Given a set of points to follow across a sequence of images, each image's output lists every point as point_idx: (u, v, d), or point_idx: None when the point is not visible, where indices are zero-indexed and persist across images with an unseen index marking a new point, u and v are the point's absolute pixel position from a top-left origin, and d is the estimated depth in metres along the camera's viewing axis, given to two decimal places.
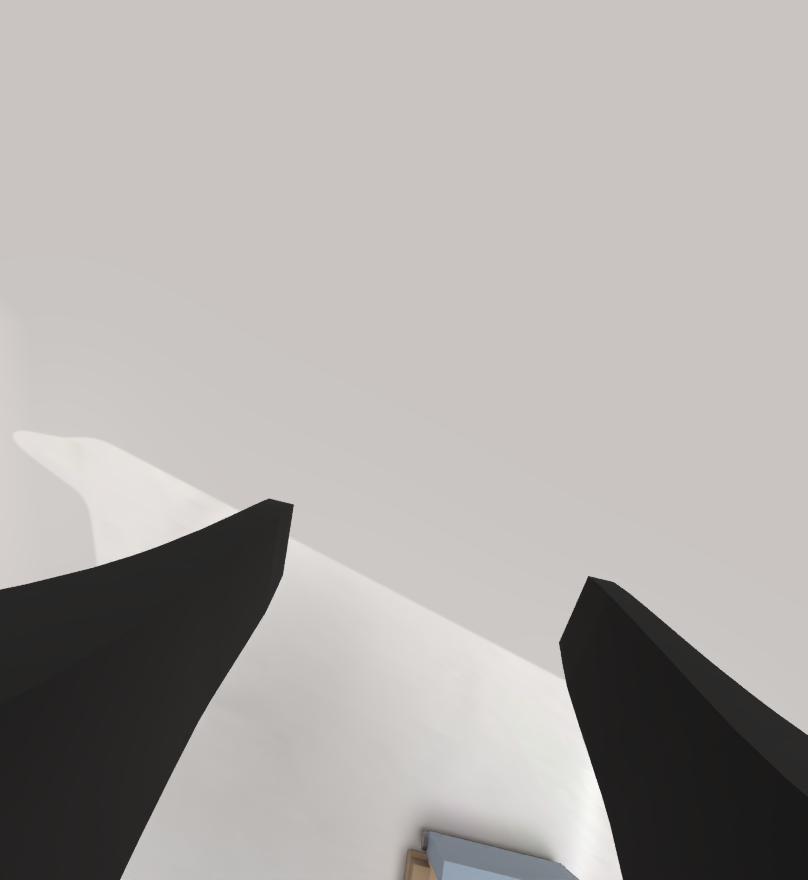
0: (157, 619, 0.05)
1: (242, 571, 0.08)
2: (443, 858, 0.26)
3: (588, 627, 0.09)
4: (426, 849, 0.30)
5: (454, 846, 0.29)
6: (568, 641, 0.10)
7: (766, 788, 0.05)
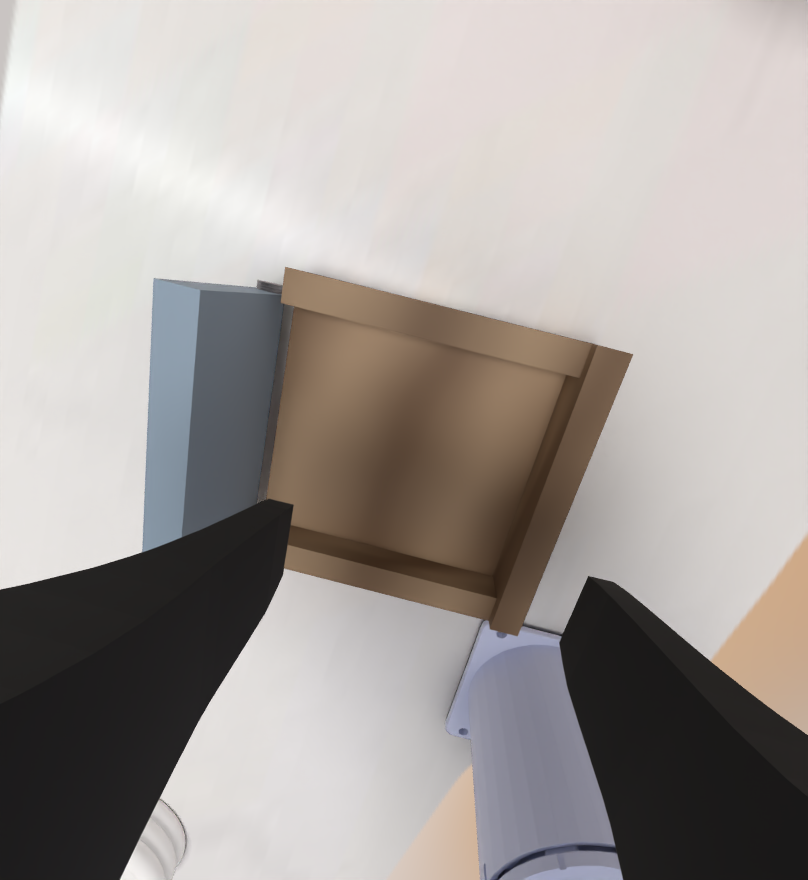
0: (157, 619, 0.05)
1: (242, 571, 0.08)
2: None
3: (588, 627, 0.09)
4: None
5: None
6: (568, 641, 0.10)
7: (764, 787, 0.05)
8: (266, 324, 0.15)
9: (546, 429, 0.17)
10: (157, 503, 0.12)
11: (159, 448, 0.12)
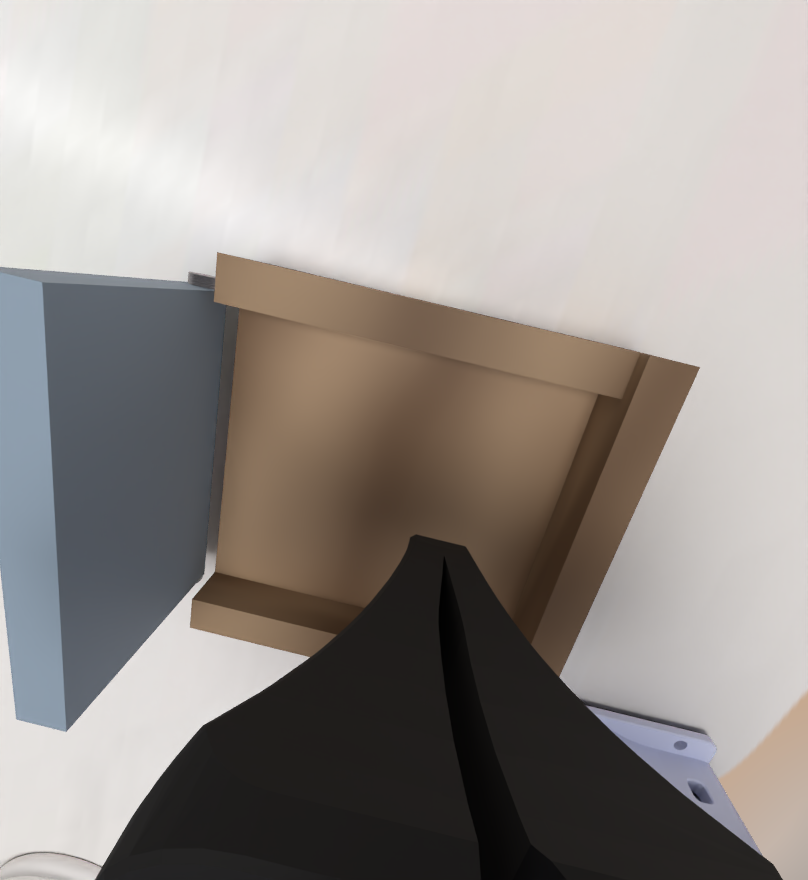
0: None
1: None
2: None
3: None
4: None
5: None
6: None
7: (471, 715, 0.05)
8: (196, 331, 0.11)
9: (572, 462, 0.13)
10: (21, 595, 0.09)
11: (13, 520, 0.08)
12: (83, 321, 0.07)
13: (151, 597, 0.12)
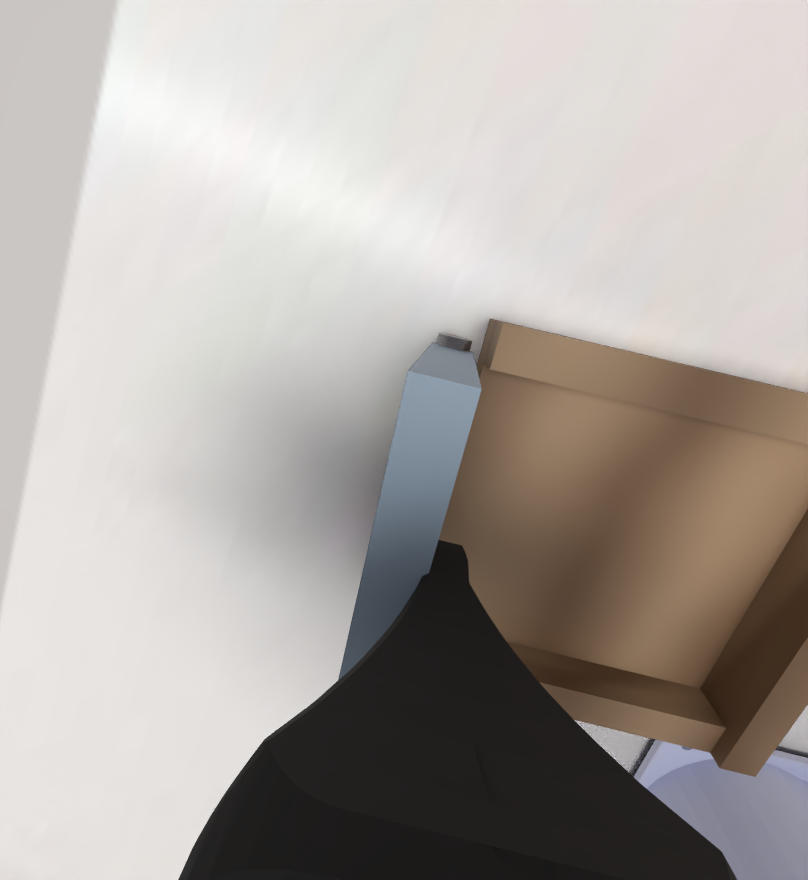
0: None
1: None
2: None
3: None
4: None
5: None
6: None
7: None
8: None
9: (803, 517, 0.13)
10: None
11: (375, 604, 0.08)
12: None
13: None
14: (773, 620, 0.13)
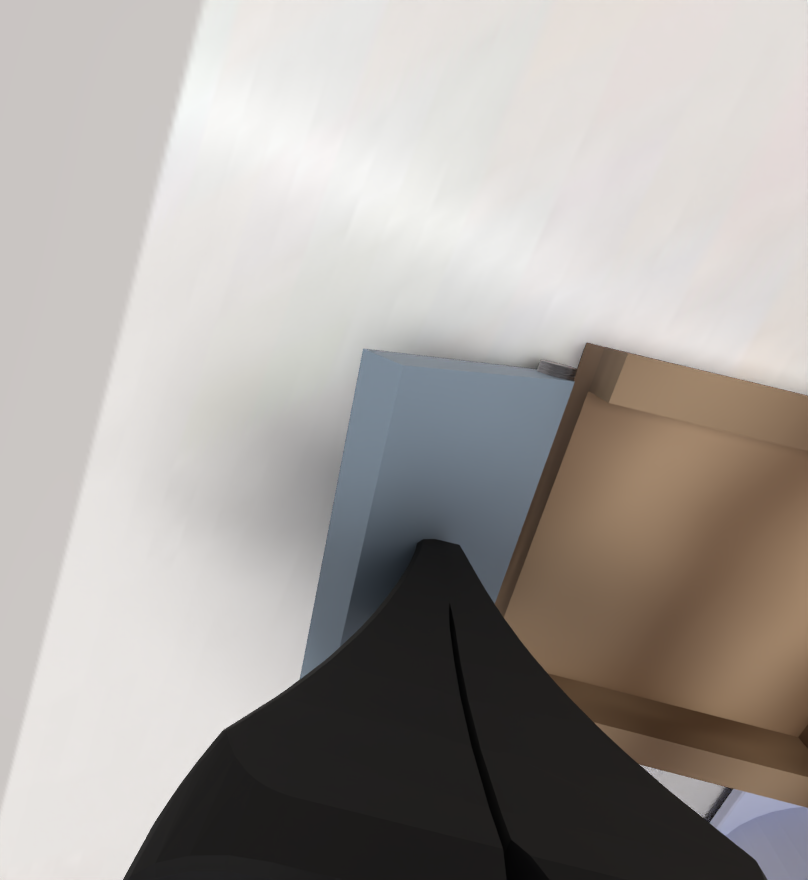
0: None
1: None
2: None
3: None
4: None
5: None
6: None
7: None
8: (530, 419, 0.10)
9: None
10: (320, 626, 0.10)
11: (332, 561, 0.09)
12: (427, 402, 0.08)
13: None
14: None
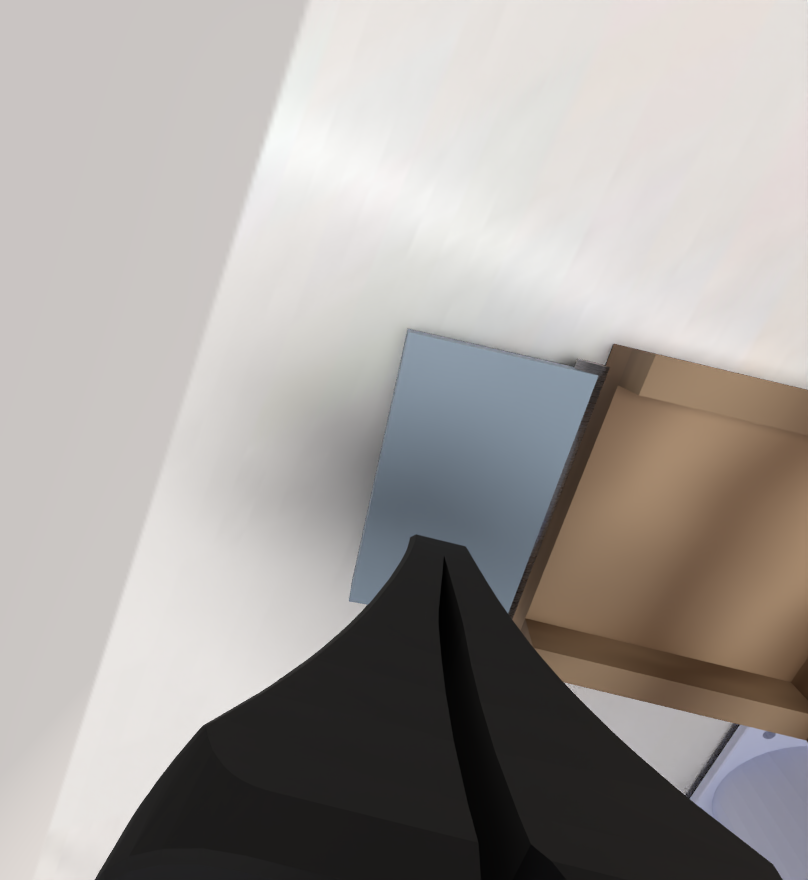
0: None
1: None
2: None
3: None
4: None
5: None
6: None
7: (472, 716, 0.05)
8: (541, 397, 0.13)
9: None
10: (369, 504, 0.15)
11: (379, 459, 0.15)
12: (429, 358, 0.13)
13: None
14: None
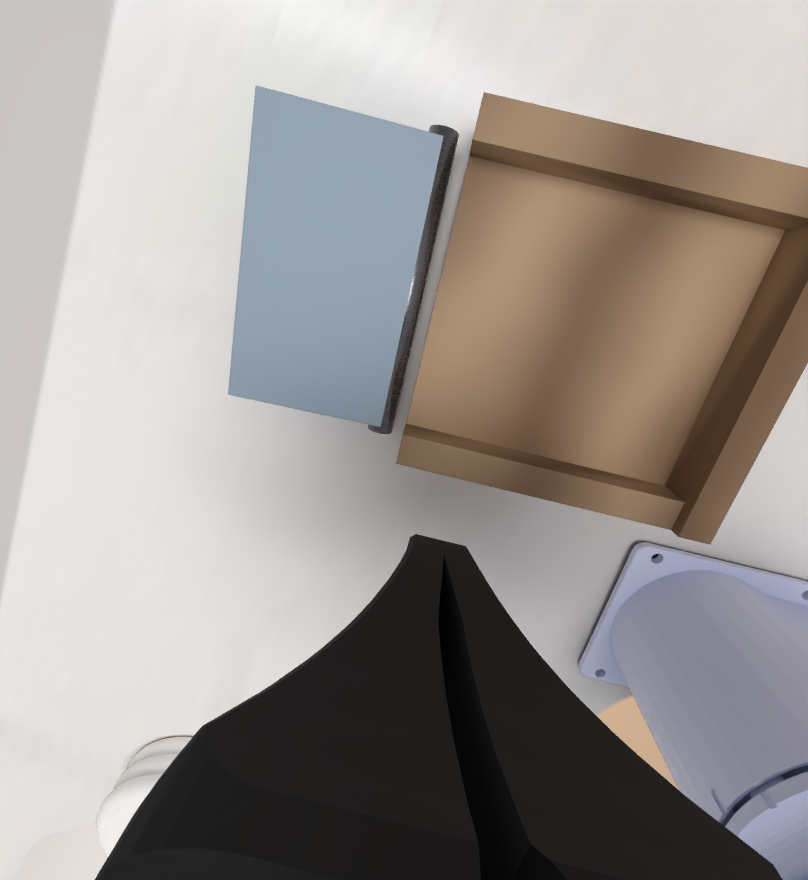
0: None
1: None
2: None
3: None
4: None
5: None
6: None
7: (471, 716, 0.05)
8: (390, 160, 0.14)
9: (751, 303, 0.15)
10: None
11: None
12: (278, 116, 0.13)
13: (309, 375, 0.16)
14: (725, 396, 0.15)
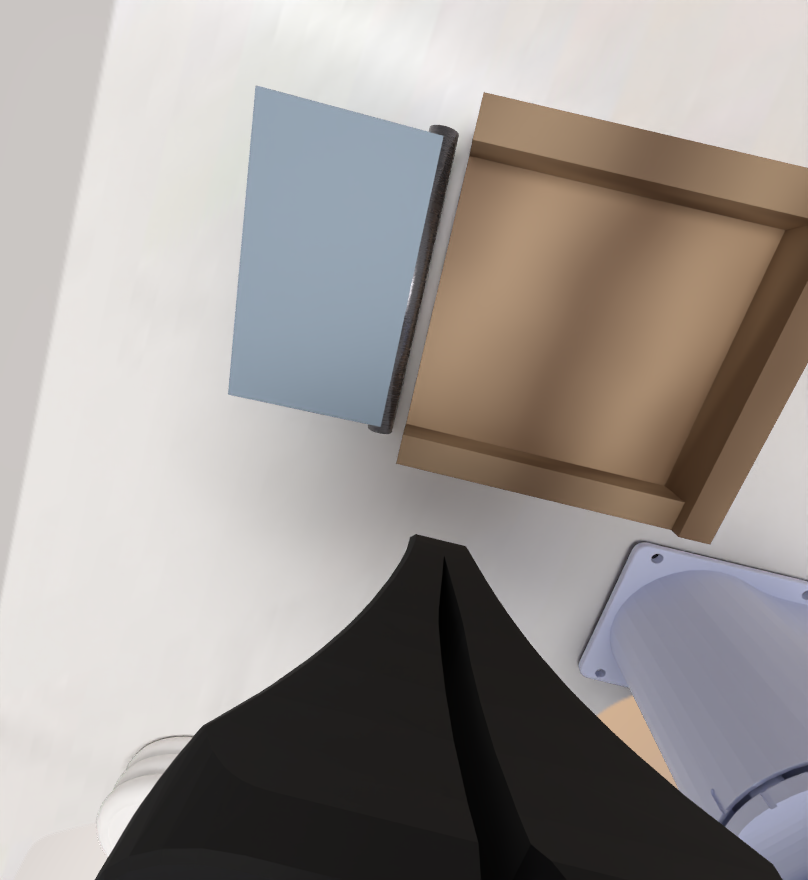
0: None
1: None
2: None
3: None
4: None
5: None
6: None
7: (471, 716, 0.05)
8: (390, 161, 0.14)
9: (751, 303, 0.15)
10: None
11: None
12: (278, 116, 0.13)
13: (309, 375, 0.16)
14: (725, 396, 0.15)
